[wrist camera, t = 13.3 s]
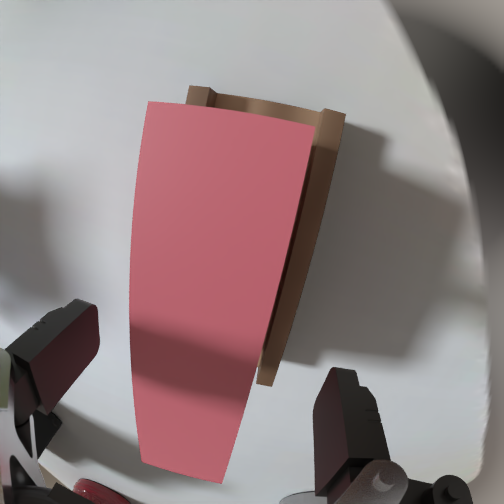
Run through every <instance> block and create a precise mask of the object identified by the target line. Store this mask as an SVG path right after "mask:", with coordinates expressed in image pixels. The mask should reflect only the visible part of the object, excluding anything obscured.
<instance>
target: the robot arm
mask: <svg viewBox="0 0 504 504" xmlns="http://www.w3.org/2000/svg"><path fill="white" fill-rule="evenodd" d="M99 345H100V336H99V323H98V310H97V307H96V305H94V304H91V303H88V302H86V301H83V300H80V299H74V300H73V301H72V302H70V303H69V304H68V305H67V306H66V307H64V308H62V307H61V308H58V309H56V310H53V311H51V312H49V313H47V314H46V315H45V316H44V317H43V318H41V319H40V321H38V322H36V323H35V324H34V325H33V326H32V328H31V327H30V328H29V329H28V330H27V331H26V332H24V333H23V334H22V335H21V336H20V337H19V338H17V339H16V340H15V341H14V342H13V343H12V344H10V345H9V346H8V347H7V348H6V349H5V350H4V349H2V348H0V504H95V503H94V502H92V501H91V500H89V499H87V498H85V497H83V496H81V495H79V494H77V493H75V492H73V491H71V490H69V489H67V488H65V487H64V486H62V485H60V484H58V483H56V484H55V485H54V487H53V488H52V489H50V488H46V485H45V482H44V479H43V476H42V474H41V471H40V469H39V465H38V460H37V452H36V443H35V432H34V419H33V416H32V414H33V412H34V411H35V410H36V409H37V410H39V411H40V412H42V413H44V414H45V415H47V416H48V414H49V413H50V412H51V411H52V409H53V408H54V407H55V405H56V404H57V403H58V402H59V400H60V399H61V398H62V397H63V395H64V394H65V393H66V392H67V390H68V389H69V388H70V387H71V385H72V384H73V383H74V382H75V380H76V379H77V378H78V377H79V376H80V374H81V373H82V372H83V371H84V369H85V368H86V367H87V366H88V365H89V363H90V362H91V361H92V360H93V359H94V357H95V356H96V354H97V352H98V349H99ZM313 433H314V465H315V492H308V493H300V494H295V495H291V496H288V497H286V498H284V499H282V500H281V501H280V503H279V504H473V502H472V498H471V494H470V491H469V488H468V486H467V484H466V483H465V482H464V481H463V480H462V479H461V478H459V477H457V476H454V475H445V476H442V477H440V478H439V479H438V480H437V481H436V482H435V483H433V484H430V483H425V482H421V481H416V480H412V479H409V478H408V477H407V475H406V473H405V471H404V470H403V468H402V467H401V466H399V465H398V464H397V463H395V462H393V461H391V459H390V455H389V451H388V447H387V442H386V438H385V434H384V430H383V426H382V423H381V418H380V415H379V413H378V407H377V403H376V400H375V398H374V396H373V395H372V394H371V392H370V391H369V390H368V388H367V387H363V386H360V385H359V381H358V377H357V373H356V371H355V370H350V369H344V368H337V367H332V368H331V369H330V371H329V373H328V375H327V378H326V380H325V382H324V384H323V386H322V388H321V390H320V392H319V394H318V396H317V398H316V401H315V404H314V409H313Z"/></svg>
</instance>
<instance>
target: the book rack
mask: <svg viewBox="0 0 504 504" xmlns="http://www.w3.org/2000/svg"><path fill="white" fill-rule="evenodd" d="M186 105H195V106H204V107H212V108H219V109H226V110H233V111H239V112H245V113H251V114H257V115H262V116H268V117H273V118H278V119H283V120H288V121H292V122H297V123H301V124H306V125H310V126H314V127H315V131H314V136H313V141H312V146H311V150H310V155H309V159H308V164H307V168H306V173H305V177H304V182H303V186H302V191H301V195H300V199H299V204H298V208H297V212H296V217H295V221H294V225H293V229H292V233H291V238H290V242H289V246H288V250H287V254H286V258H285V262H284V266H283V270H282V274H281V278H280V282H279V286H278V290H277V294H276V298H275V301H274V305H273V309H272V313H271V317H270V320H269V324H268V328H267V332H266V335H265V339H264V343H263V346H262V350H261V354H260V357H259V361H258V365H257V367H258V374H257V381H256V384H260V385H265V386H270V387H272V385H273V382H274V379H275V376H276V373H277V370H278V367H279V364H280V361H281V358H282V355H283V352H284V349H285V346H286V343H287V339H288V336H289V333H290V330H291V327H292V323H293V320H294V317H295V314H296V310H297V307H298V304H299V300H300V297H301V293H302V290H303V287H304V283H305V280H306V276H307V273H308V269H309V266H310V262H311V258H312V255H313V251H314V247H315V244H316V240H317V236H318V232H319V228H320V225H321V221H322V217H323V213H324V209H325V205H326V201H327V197H328V193H329V188H330V184H331V180H332V176H333V171H334V167H335V163H336V158H337V154H338V149H339V145H340V140H341V135H342V130H343V126H344V121H345V116H346V114H344V113H341V112H337V111H333V110H329V109H323V110H322V111H321V112H317V111H313V110H308V109H304V108H300V107H295V106H290V105H286V104H281V103H276V102H270V101H265V100H259V99H253V98H247V97H241V96H234V95H227V94H219V93H216V92H215V91H214V90H212V89H211V88H210V87H201V86H190V85H189V90H188V95H187V100H186Z"/></svg>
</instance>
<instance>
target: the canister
mask: <svg viewBox="0 0 504 504" xmlns="http://www.w3.org/2000/svg"><path fill="white" fill-rule="evenodd" d="M73 492H75V493H77V494H79V495H81V496H83V497H85V498H87V499H89V500H91V501H92V502H94V503H95V504H130V503H129V502H128V501H127V500H126V499H125V498H123V497H122V496H120V495H119V494H117V493H116V492H114V491H112V490H110V489H108V488H107V487H104V486H102V485H100V484H98V483H96V482H93V481H90V480H87V479H79V480H78V482H76V483H75V485H74V489H73Z"/></svg>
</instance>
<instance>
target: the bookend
mask: <svg viewBox="0 0 504 504" xmlns="http://www.w3.org/2000/svg"><path fill="white" fill-rule="evenodd" d="M32 416H33V419H34V432H35V443H36V452H37V460H38V459H39V457H40V456H41V454H42V452H43V451H44V449H45V448H46V446H47V445H48V443H49V442H50V440H51V439H52V437H53V436H54V435H55V433H56V432H57V430H58V429H59V427H60V426H61V424H62V422H61V421H60V420H59V419H58V418H57V417H55V416H54V415H53V414H52V413H51V412H50V413H49V414H48V416H47V415H45V414H44V413H42V412H40V411H39V410H37V409H36V410H35V411H34V412H33V414H32Z"/></svg>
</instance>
